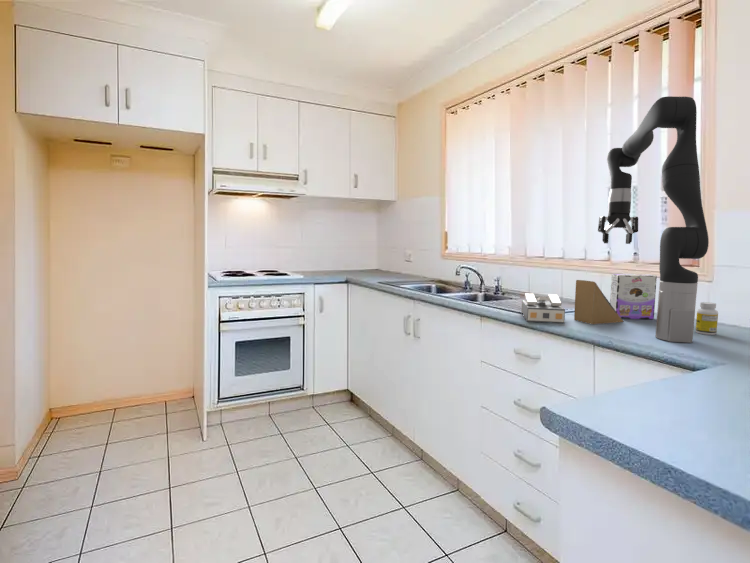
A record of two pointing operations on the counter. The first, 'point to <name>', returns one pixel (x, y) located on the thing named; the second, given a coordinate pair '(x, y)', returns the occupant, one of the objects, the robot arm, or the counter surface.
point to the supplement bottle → (707, 319)
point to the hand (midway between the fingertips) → (616, 243)
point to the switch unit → (543, 312)
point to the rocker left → (530, 299)
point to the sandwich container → (593, 304)
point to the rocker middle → (542, 299)
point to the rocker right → (554, 300)
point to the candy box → (633, 295)
